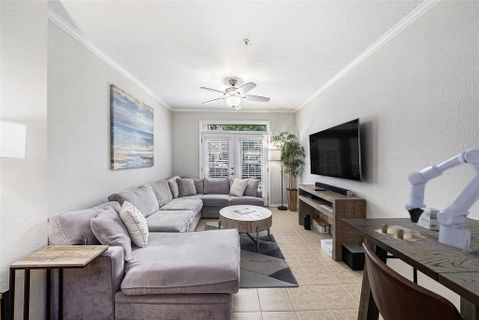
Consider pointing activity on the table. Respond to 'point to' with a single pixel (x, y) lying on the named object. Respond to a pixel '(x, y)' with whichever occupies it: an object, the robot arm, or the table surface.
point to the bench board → (406, 239)
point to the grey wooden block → (405, 231)
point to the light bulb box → (429, 219)
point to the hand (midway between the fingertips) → (414, 222)
